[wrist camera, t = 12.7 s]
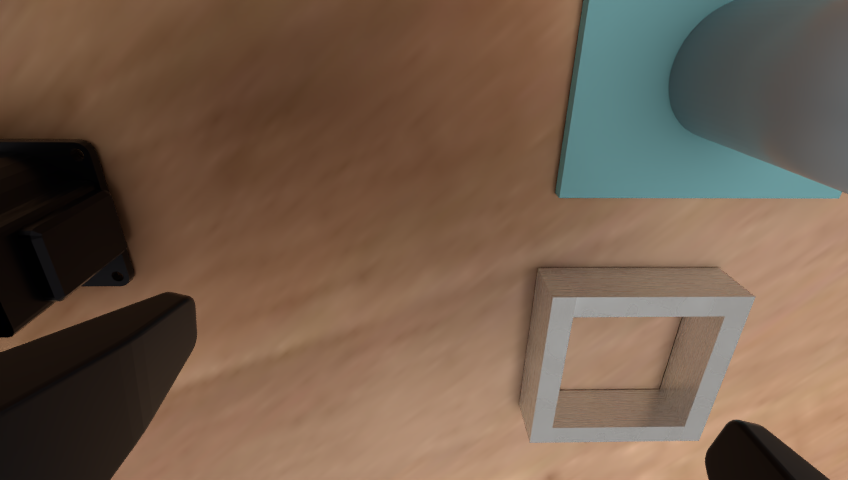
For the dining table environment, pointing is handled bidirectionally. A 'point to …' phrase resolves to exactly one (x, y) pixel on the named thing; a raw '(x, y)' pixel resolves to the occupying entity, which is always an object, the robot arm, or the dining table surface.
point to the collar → (631, 297)
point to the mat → (650, 115)
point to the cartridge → (770, 84)
